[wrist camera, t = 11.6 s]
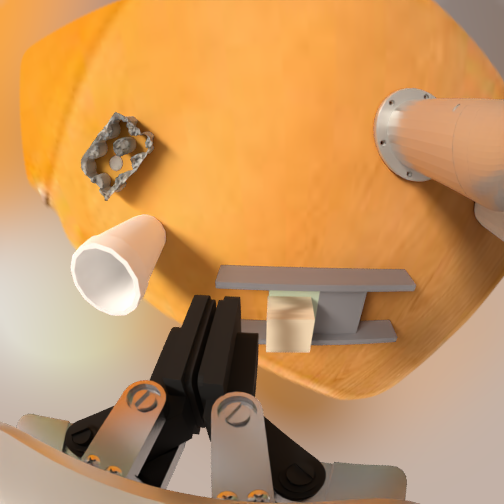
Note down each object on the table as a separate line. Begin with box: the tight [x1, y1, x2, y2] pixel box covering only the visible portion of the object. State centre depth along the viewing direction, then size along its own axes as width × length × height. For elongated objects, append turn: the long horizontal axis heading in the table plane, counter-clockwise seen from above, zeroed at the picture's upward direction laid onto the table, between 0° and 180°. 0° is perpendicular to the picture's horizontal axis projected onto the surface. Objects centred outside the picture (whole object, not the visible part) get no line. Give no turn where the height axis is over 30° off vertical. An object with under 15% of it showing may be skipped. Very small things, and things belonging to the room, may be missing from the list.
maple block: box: [266, 296, 315, 352], centre depth 38 cm, size 6×6×5 cm
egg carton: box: [81, 112, 154, 201], centre depth 33 cm, size 11×8×4 cm
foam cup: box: [71, 214, 166, 315], centre depth 34 cm, size 10×9×13 cm
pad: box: [269, 290, 320, 331], centre depth 41 cm, size 7×9×3 cm
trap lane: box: [215, 265, 416, 345], centre depth 40 cm, size 28×11×4 cm, turn 90°
